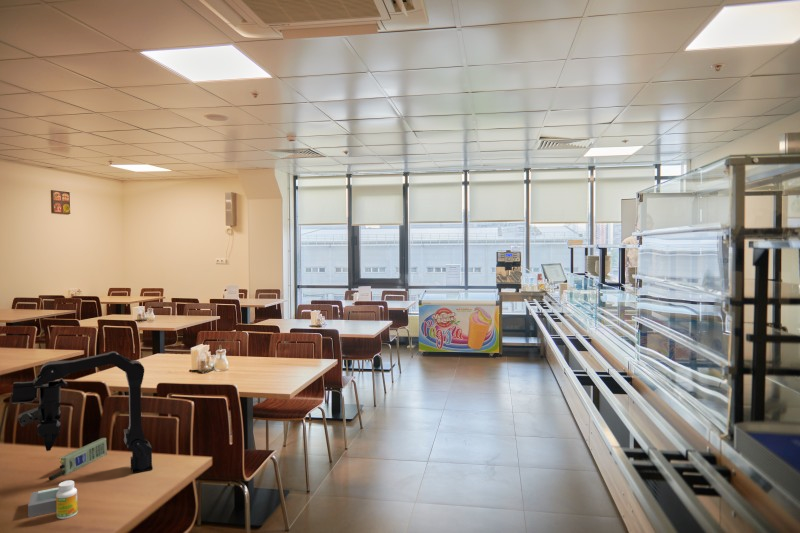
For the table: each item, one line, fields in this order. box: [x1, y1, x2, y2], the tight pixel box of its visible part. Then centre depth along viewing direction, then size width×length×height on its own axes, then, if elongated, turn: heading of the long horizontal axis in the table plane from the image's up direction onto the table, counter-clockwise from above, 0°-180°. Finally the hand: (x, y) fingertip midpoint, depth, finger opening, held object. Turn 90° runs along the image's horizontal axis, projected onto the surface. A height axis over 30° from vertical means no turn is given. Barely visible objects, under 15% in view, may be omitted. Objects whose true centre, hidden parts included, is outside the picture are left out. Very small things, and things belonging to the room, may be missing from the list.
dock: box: [27, 486, 59, 518], centre depth 161 cm, size 10×10×4 cm
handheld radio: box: [48, 437, 108, 481], centre depth 190 cm, size 7×3×25 cm
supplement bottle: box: [55, 479, 79, 520], centre depth 156 cm, size 5×5×10 cm
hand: (48, 446), depth 173 cm, fingers open, 9 cm apart
